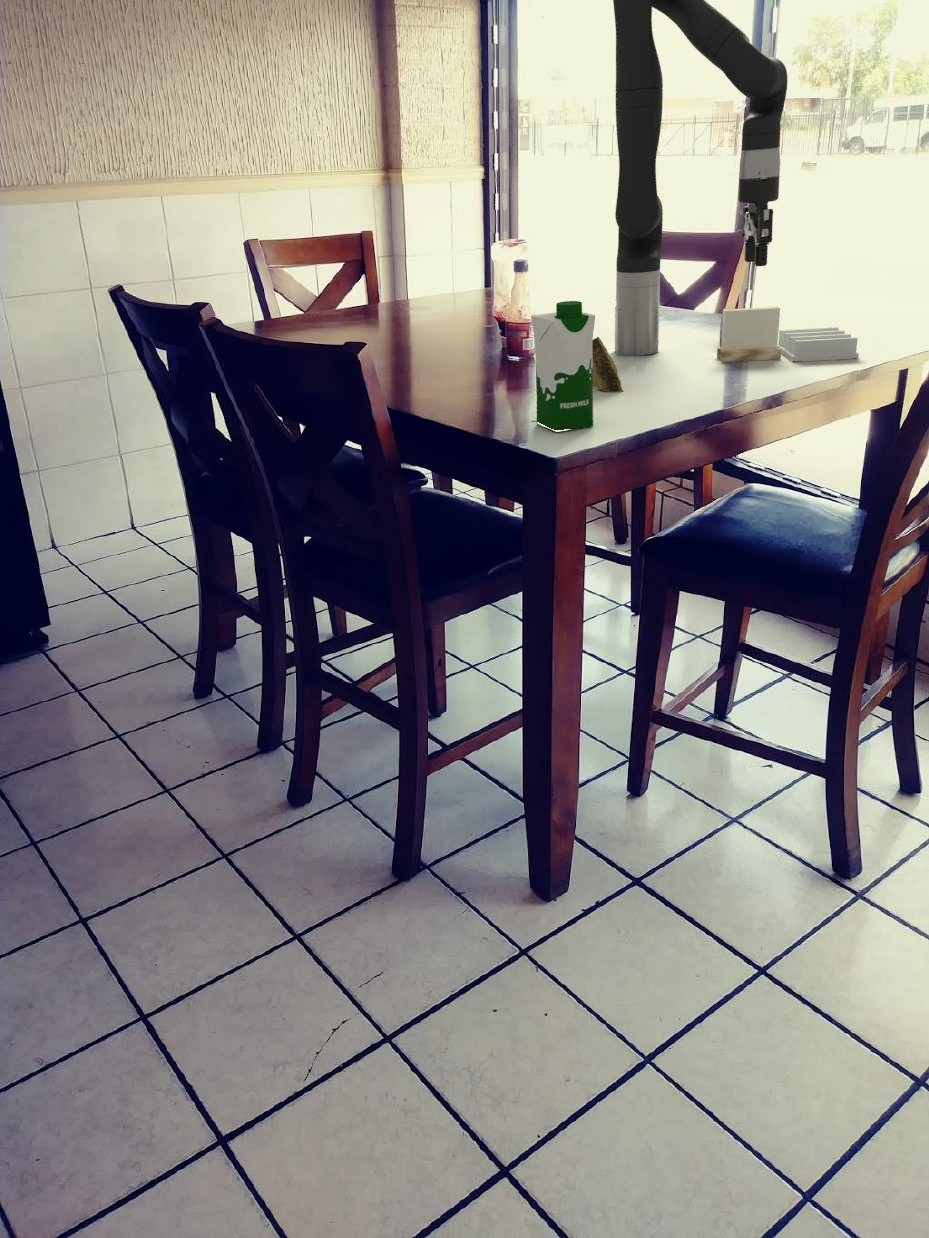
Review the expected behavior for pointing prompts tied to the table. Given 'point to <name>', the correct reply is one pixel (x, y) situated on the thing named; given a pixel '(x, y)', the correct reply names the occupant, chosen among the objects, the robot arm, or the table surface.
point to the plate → (750, 328)
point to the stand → (748, 355)
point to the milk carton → (564, 366)
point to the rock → (604, 368)
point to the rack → (817, 344)
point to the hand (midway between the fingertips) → (755, 263)
